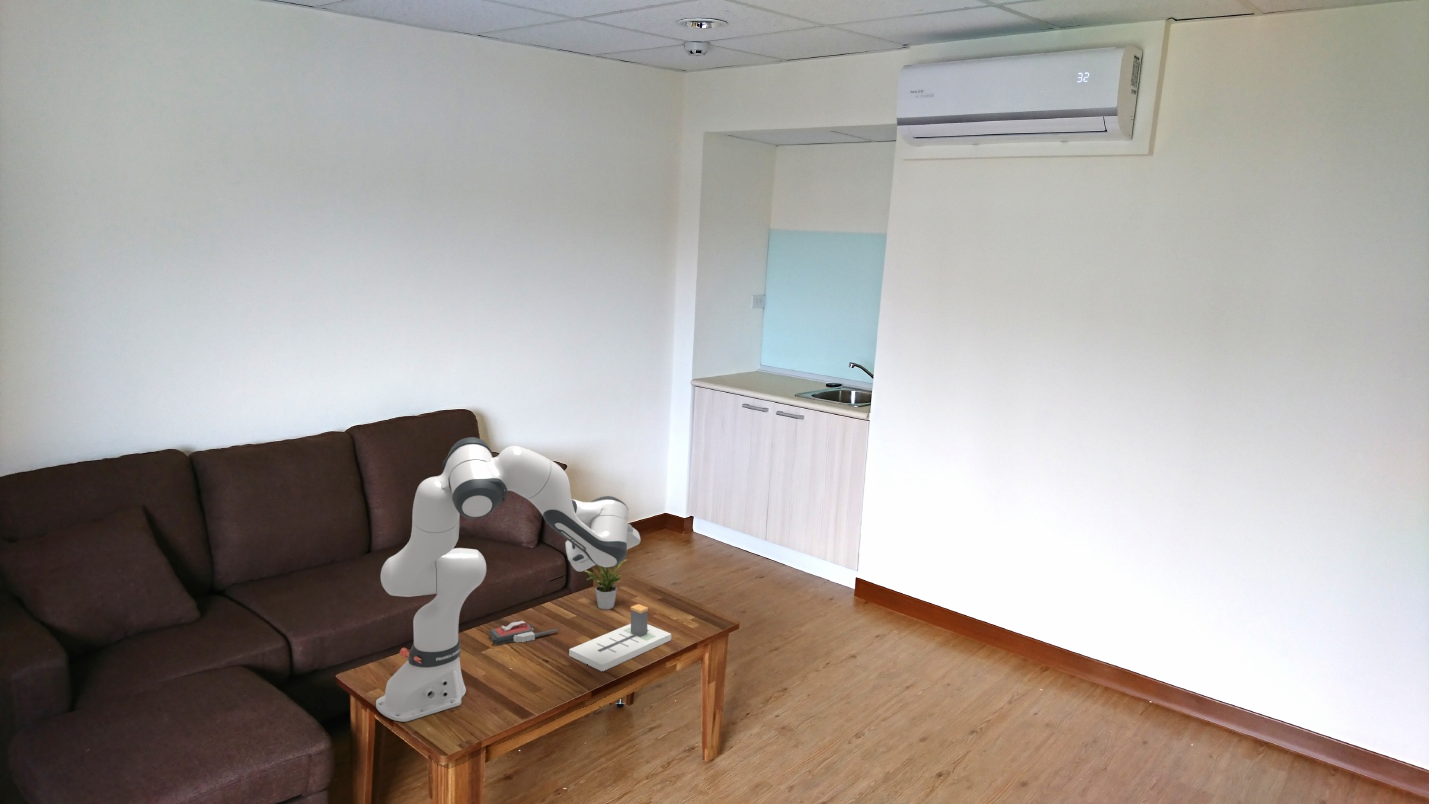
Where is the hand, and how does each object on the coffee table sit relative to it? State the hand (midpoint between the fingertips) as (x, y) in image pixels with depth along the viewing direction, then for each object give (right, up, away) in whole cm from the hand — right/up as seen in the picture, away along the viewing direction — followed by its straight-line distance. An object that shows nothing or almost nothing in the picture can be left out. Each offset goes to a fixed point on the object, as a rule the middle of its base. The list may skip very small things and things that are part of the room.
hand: (616, 560), depth 258 cm
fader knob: (+5, -24, +15) cm, 29 cm away
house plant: (-7, -22, +41) cm, 47 cm away
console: (0, -27, +10) cm, 29 cm away
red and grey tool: (-30, -26, +16) cm, 43 cm away
